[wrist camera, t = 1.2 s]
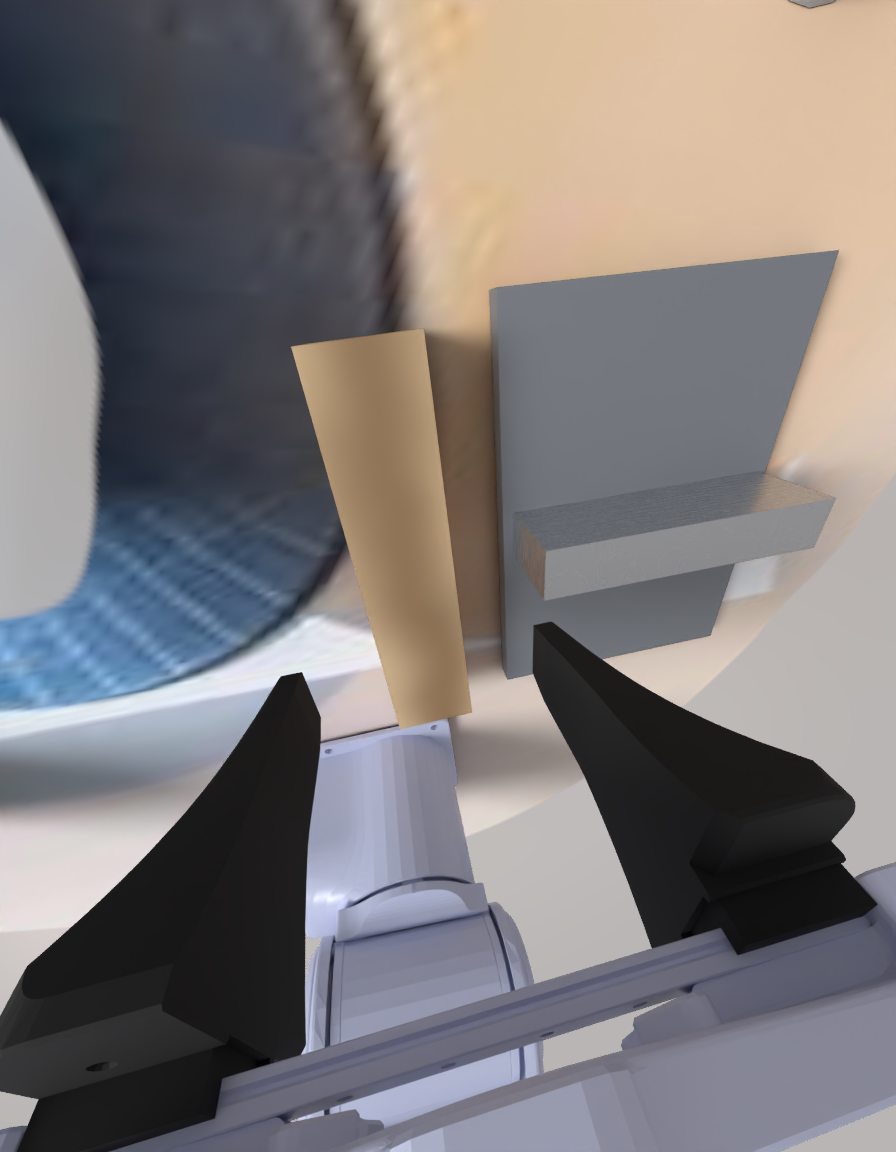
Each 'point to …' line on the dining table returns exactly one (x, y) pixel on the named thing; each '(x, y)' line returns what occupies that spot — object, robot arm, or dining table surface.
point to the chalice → (812, 2)
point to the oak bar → (392, 510)
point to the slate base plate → (638, 419)
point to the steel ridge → (665, 532)
